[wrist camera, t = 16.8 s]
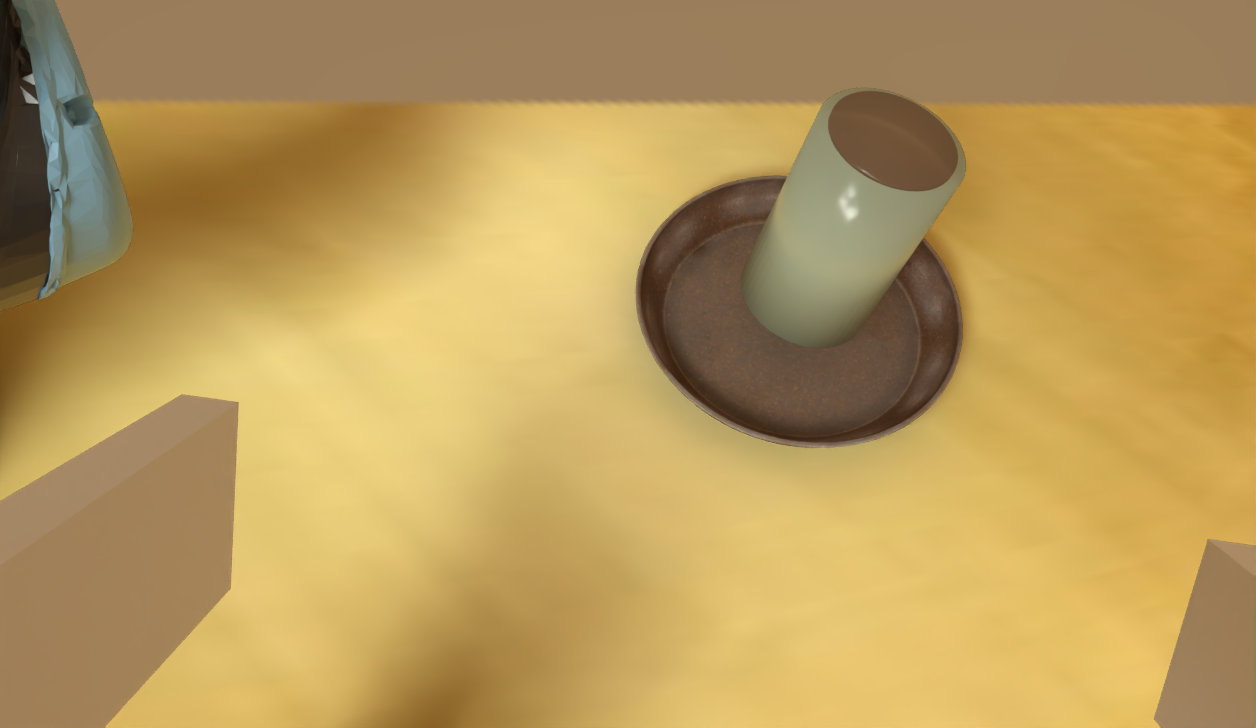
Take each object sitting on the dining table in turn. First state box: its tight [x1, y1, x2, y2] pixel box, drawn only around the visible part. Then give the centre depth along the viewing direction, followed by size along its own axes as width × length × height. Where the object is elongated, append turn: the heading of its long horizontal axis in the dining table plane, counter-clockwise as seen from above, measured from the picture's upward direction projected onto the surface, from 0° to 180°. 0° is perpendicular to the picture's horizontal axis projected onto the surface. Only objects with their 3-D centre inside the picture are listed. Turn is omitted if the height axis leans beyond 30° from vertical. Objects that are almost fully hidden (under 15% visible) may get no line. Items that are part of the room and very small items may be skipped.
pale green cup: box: [741, 88, 966, 348], centre depth 49 cm, size 7×7×11 cm
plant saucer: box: [636, 176, 963, 448], centre depth 55 cm, size 18×18×3 cm
